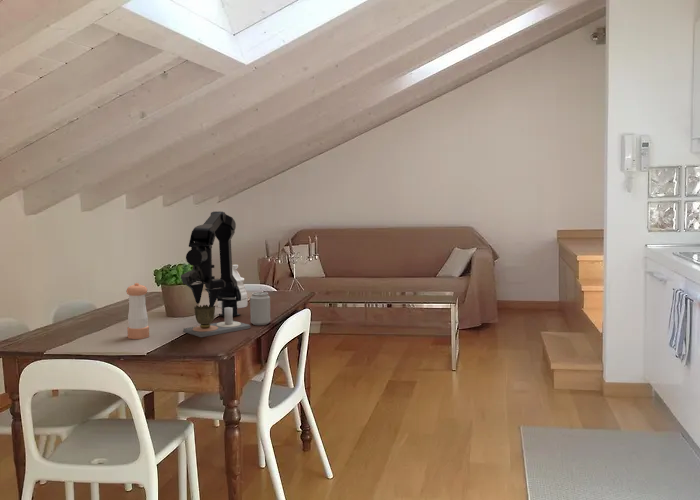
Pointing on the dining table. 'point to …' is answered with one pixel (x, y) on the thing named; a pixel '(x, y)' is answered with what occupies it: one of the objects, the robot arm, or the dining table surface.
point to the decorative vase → (204, 315)
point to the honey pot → (241, 287)
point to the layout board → (218, 326)
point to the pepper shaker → (137, 312)
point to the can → (260, 308)
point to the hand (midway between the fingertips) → (204, 305)
